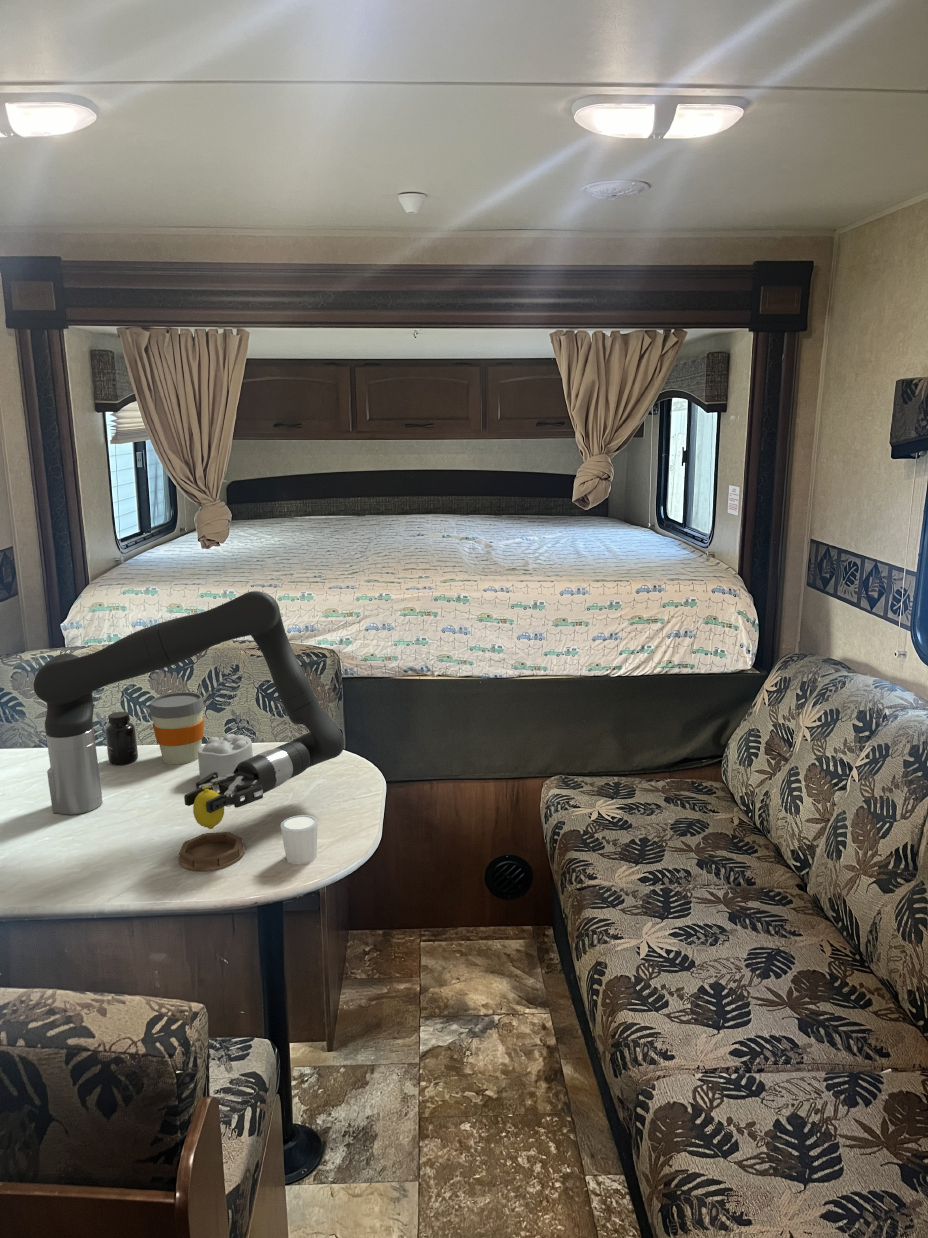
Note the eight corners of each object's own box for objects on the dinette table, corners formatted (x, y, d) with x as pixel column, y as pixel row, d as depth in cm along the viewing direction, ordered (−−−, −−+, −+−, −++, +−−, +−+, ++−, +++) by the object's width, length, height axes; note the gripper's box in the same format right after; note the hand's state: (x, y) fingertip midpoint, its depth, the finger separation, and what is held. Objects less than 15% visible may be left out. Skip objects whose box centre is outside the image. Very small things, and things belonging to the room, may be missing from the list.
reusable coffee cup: (153, 753, 217) (147, 696, 214) (205, 745, 222) (199, 689, 218) (157, 770, 206) (150, 710, 202) (211, 761, 210) (206, 702, 207)
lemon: (196, 824, 164) (191, 785, 163) (226, 820, 166) (221, 781, 164) (195, 838, 159) (190, 797, 157) (226, 833, 161) (221, 793, 159)
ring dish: (172, 873, 157) (171, 863, 157) (186, 842, 169) (185, 833, 168) (239, 869, 158) (238, 859, 158) (249, 838, 170) (248, 829, 170)
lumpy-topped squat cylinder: (193, 781, 199) (190, 745, 197) (228, 761, 211) (225, 727, 209) (231, 787, 195) (228, 750, 193) (264, 766, 207) (261, 731, 205)
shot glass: (324, 848, 165) (322, 814, 164) (314, 866, 158) (312, 831, 157) (289, 848, 166) (286, 814, 164) (278, 865, 159) (275, 830, 158)
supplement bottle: (103, 765, 210) (97, 718, 207) (118, 755, 216) (113, 709, 214) (129, 766, 209) (123, 719, 206) (144, 756, 215) (138, 710, 213)
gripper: (237, 748, 176) (168, 778, 162) (288, 761, 168) (221, 793, 154) (241, 782, 178) (173, 815, 164) (292, 797, 170) (225, 832, 156)
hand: (196, 804), depth 159 cm, fingers closed on lemon, 5 cm apart
